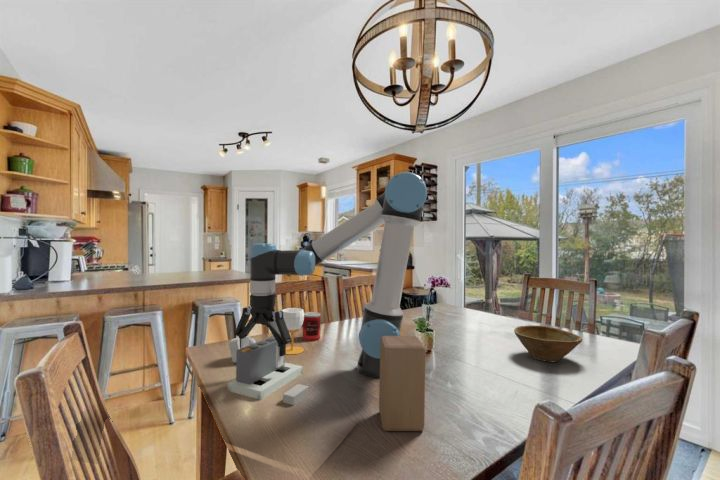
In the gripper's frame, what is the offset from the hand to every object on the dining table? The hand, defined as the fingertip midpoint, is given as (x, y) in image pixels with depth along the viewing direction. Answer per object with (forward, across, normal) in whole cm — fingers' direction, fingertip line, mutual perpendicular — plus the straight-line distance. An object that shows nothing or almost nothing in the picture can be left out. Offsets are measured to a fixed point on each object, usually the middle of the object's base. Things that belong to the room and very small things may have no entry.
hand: (261, 362), depth 104 cm
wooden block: (+6, -45, +2) cm, 46 cm away
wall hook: (+6, +16, -12) cm, 21 cm away
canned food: (+6, +11, -45) cm, 47 cm away
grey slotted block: (+5, 0, 0) cm, 5 cm away
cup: (+6, +9, -28) cm, 30 cm away
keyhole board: (+6, -2, 0) cm, 7 cm away
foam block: (+6, -16, +5) cm, 18 cm away
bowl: (+6, -82, -65) cm, 105 cm away
